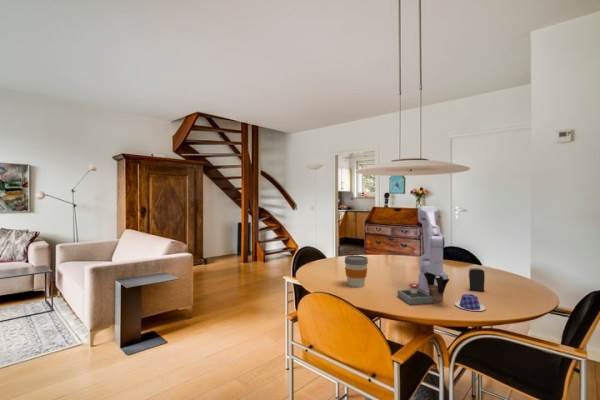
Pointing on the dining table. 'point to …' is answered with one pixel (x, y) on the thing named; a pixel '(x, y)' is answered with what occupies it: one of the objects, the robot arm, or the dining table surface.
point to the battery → (476, 279)
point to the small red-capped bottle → (413, 290)
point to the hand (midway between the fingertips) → (435, 290)
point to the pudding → (470, 303)
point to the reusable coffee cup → (356, 270)
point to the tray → (419, 300)
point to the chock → (435, 293)
